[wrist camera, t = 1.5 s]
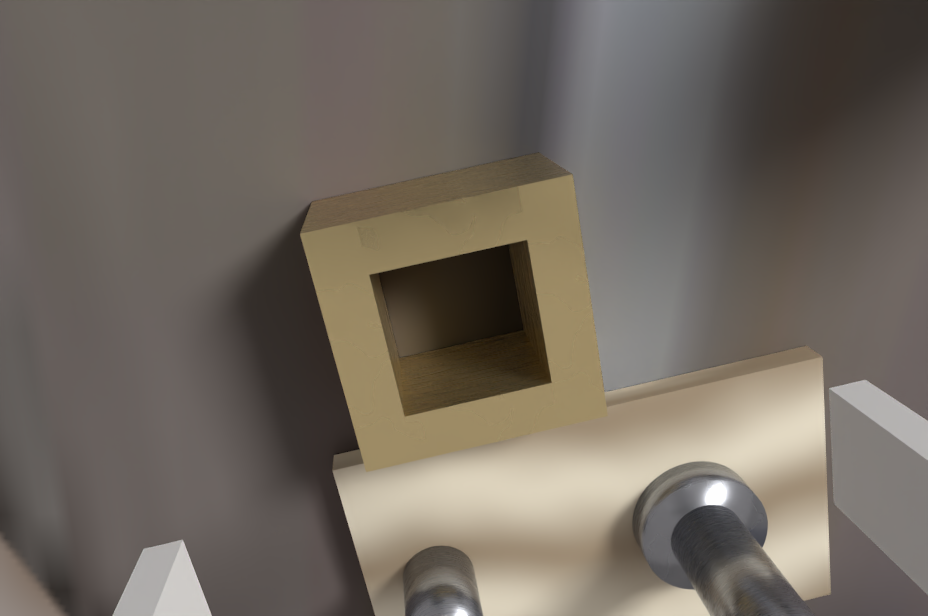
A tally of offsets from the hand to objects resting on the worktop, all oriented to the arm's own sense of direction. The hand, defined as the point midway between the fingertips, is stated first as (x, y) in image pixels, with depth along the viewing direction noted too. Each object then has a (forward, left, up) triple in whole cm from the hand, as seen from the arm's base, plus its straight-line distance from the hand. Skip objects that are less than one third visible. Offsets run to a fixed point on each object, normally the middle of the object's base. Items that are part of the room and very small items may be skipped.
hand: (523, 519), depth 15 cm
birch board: (+12, +4, -15) cm, 19 cm away
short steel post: (+12, -3, -14) cm, 18 cm away
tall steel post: (+12, +8, -14) cm, 20 cm away
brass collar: (0, 0, -15) cm, 15 cm away
